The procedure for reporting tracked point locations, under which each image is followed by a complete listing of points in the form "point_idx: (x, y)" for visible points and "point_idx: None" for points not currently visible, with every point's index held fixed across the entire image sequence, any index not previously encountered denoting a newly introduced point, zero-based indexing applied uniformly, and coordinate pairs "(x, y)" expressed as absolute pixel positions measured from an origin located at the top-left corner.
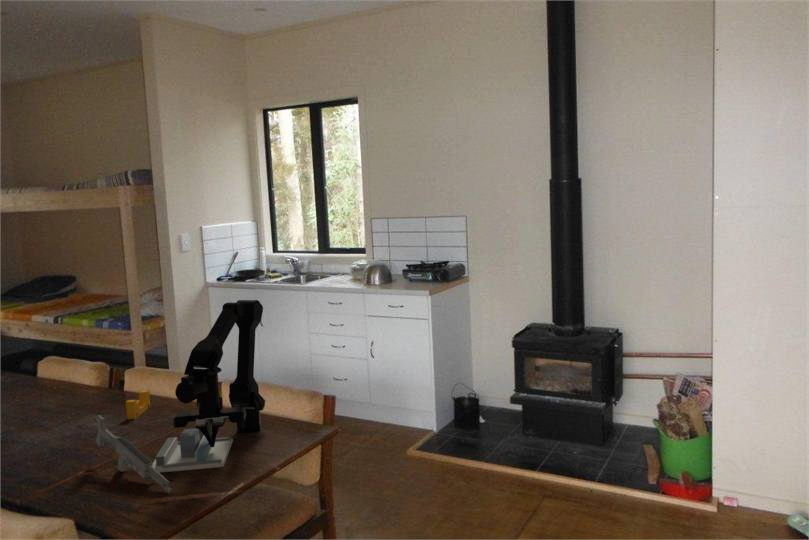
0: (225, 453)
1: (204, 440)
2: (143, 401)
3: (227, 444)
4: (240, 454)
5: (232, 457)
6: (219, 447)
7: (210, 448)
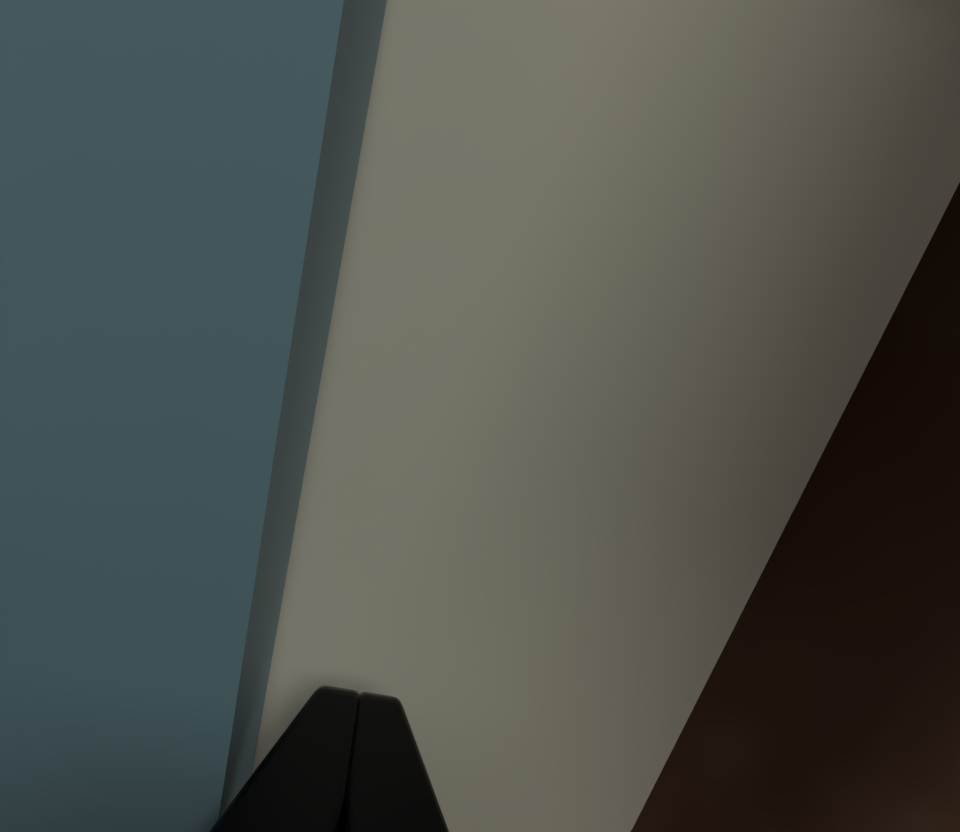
0: (614, 806)
1: (23, 595)
2: None
3: (797, 327)
4: (882, 737)
5: (710, 793)
6: (542, 448)
7: (295, 515)
